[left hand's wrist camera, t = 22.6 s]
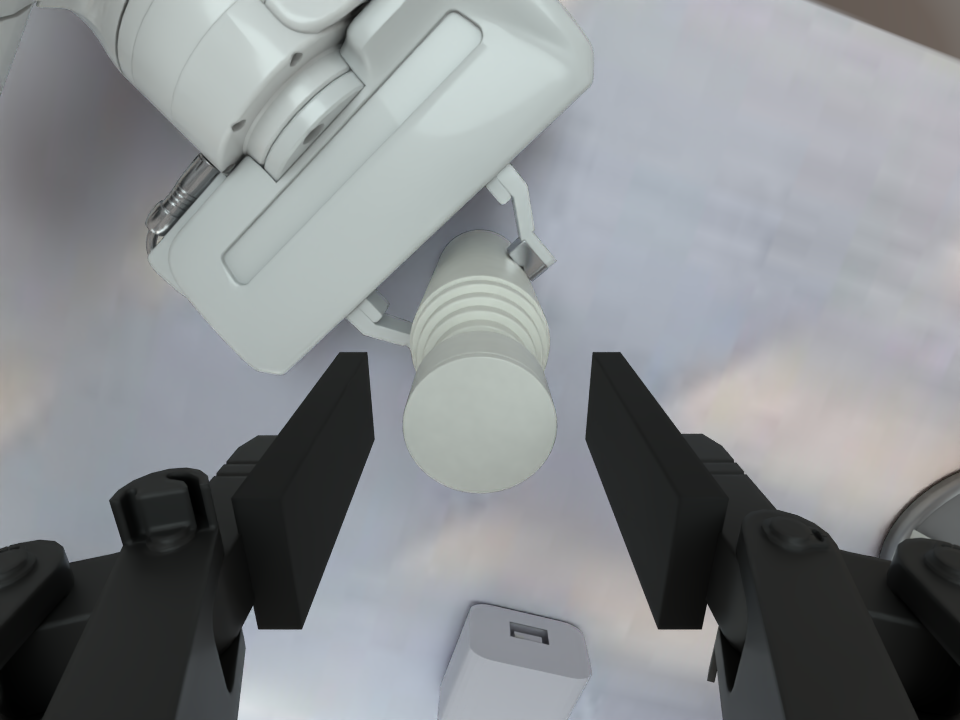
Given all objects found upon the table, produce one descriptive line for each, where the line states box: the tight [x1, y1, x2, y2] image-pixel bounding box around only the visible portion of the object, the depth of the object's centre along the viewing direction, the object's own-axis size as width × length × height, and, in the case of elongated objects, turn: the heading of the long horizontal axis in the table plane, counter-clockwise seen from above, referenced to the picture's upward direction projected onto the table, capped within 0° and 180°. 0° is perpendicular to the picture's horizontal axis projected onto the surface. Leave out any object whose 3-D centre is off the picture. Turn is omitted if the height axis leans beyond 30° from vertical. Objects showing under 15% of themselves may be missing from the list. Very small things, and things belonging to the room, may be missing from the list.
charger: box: [437, 604, 592, 720], centre depth 40 cm, size 5×9×15 cm
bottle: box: [410, 230, 550, 372], centre depth 22 cm, size 5×5×19 cm
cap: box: [403, 331, 557, 493], centre depth 14 cm, size 4×4×2 cm
